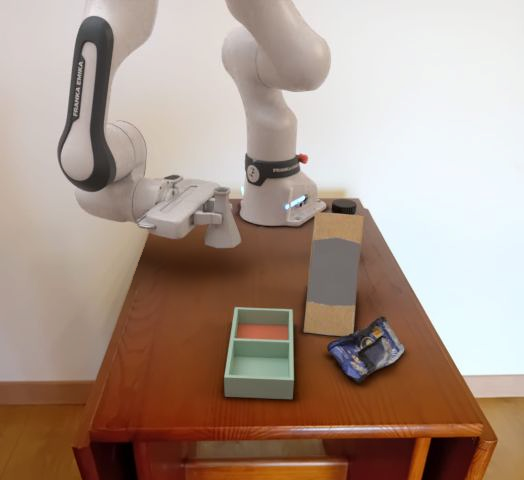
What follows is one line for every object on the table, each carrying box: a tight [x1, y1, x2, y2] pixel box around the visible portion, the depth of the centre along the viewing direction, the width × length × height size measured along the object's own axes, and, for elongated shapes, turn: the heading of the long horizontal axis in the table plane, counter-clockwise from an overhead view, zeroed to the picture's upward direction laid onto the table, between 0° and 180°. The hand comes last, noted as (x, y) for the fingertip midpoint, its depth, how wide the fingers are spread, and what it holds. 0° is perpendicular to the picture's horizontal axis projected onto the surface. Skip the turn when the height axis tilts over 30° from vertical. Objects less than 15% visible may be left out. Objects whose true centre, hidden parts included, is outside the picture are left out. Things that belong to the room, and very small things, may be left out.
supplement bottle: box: [330, 198, 358, 215], centre depth 108 cm, size 7×7×12 cm
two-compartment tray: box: [223, 306, 295, 400], centre depth 82 cm, size 18×10×4 cm, turn 178°
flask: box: [203, 186, 242, 249], centre depth 99 cm, size 7×7×10 cm
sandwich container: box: [303, 211, 365, 337], centre depth 90 cm, size 9×15×15 cm, turn 172°
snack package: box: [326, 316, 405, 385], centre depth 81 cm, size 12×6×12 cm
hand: (226, 214), depth 98 cm, fingers closed on flask, 3 cm apart
